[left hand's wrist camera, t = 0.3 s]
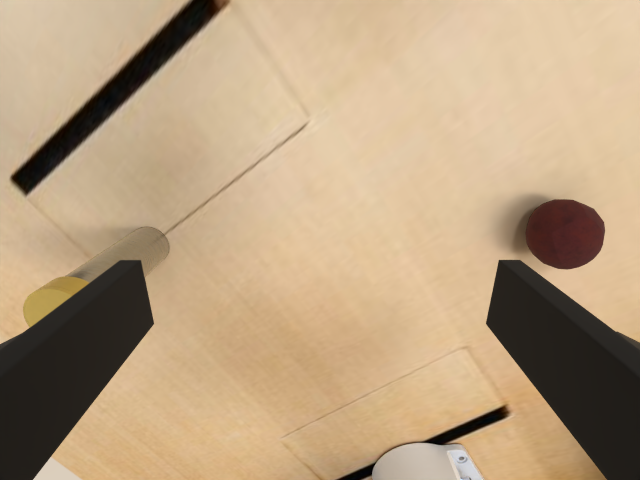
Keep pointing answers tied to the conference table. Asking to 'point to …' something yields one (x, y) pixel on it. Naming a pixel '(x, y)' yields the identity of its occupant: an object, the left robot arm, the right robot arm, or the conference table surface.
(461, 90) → the conference table surface
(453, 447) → the right robot arm
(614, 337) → the left robot arm
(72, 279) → the lid
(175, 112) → the conference table surface
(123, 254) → the bottle
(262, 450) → the conference table surface
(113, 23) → the conference table surface
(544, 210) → the dark red ball
